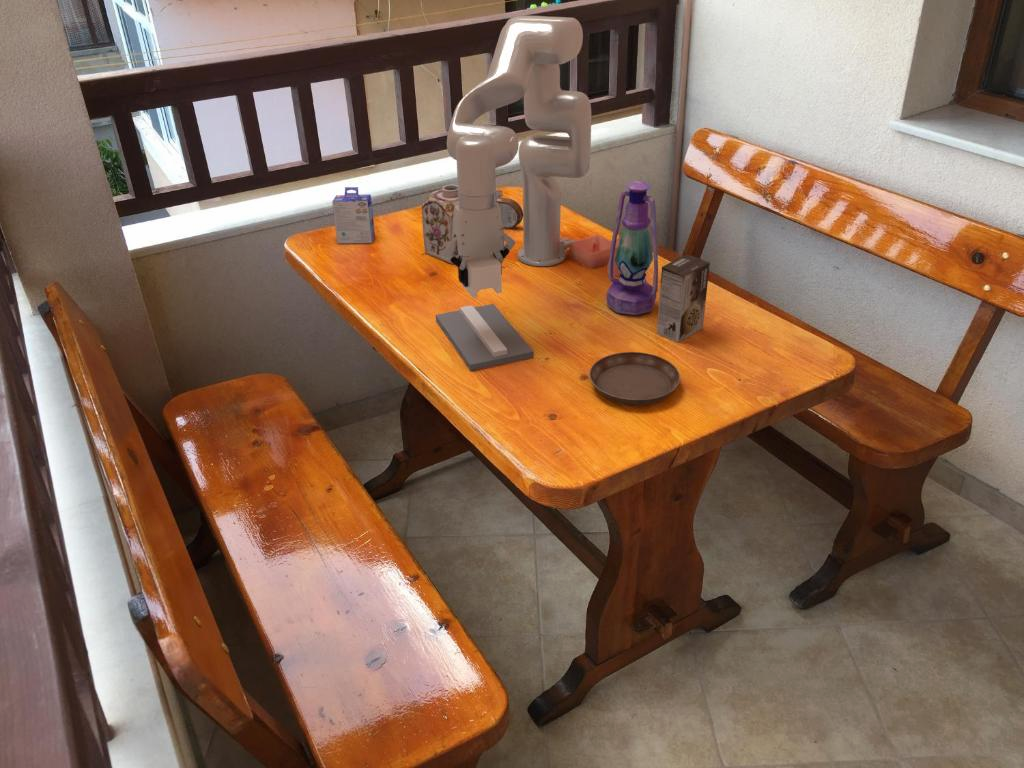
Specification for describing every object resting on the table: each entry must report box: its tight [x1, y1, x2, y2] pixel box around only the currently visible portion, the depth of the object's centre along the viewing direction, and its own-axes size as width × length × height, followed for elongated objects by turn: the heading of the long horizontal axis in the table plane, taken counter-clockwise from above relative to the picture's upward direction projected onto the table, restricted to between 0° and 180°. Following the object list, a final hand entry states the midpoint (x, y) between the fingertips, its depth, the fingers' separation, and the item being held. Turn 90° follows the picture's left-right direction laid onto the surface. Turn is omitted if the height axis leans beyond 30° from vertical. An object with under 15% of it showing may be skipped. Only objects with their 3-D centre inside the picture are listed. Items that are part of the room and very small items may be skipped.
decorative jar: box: [421, 184, 459, 265], centre depth 223 cm, size 12×12×18 cm
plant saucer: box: [588, 351, 681, 407], centre depth 170 cm, size 18×18×3 cm
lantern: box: [606, 180, 659, 316], centre depth 192 cm, size 13×12×30 cm
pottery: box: [568, 234, 622, 278], centre depth 218 cm, size 18×10×10 cm, turn 34°
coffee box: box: [656, 253, 711, 343], centre depth 185 cm, size 9×6×16 cm
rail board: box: [435, 303, 534, 372], centre depth 187 cm, size 14×24×3 cm, turn 22°
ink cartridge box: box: [331, 186, 376, 244], centre depth 232 cm, size 10×6×14 cm, turn 89°
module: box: [459, 253, 503, 299], centre depth 180 cm, size 6×8×6 cm
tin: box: [497, 196, 523, 230], centre depth 241 cm, size 15×3×8 cm, turn 66°
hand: (480, 280), depth 181 cm, fingers closed on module, 6 cm apart
